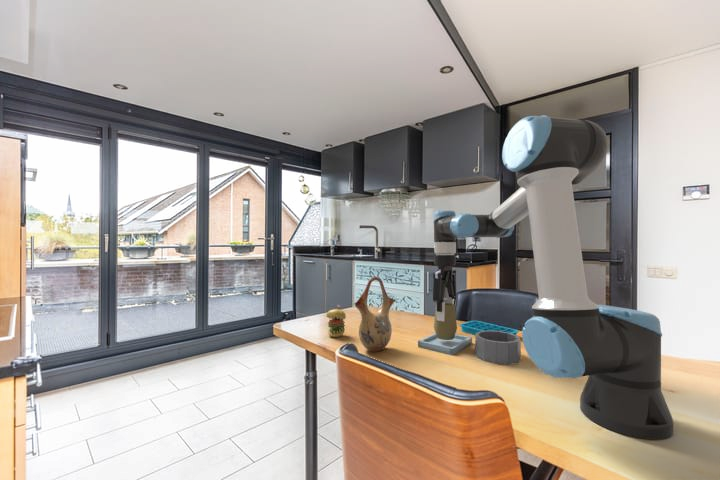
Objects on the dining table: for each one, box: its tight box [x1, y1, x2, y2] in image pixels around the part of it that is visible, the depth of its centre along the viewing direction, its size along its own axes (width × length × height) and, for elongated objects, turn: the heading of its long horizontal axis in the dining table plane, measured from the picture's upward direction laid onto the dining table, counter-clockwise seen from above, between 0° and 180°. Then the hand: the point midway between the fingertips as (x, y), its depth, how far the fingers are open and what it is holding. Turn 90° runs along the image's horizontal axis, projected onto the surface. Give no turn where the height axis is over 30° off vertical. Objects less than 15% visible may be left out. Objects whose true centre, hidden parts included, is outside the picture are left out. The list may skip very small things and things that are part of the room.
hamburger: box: [326, 304, 347, 338], centre depth 128 cm, size 8×7×12 cm
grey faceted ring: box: [474, 330, 522, 365], centre depth 104 cm, size 13×13×6 cm
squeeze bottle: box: [433, 288, 458, 340], centre depth 116 cm, size 8×8×18 cm
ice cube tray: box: [458, 320, 520, 336], centre depth 129 cm, size 12×20×3 cm, turn 36°
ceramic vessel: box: [353, 276, 396, 352], centre depth 111 cm, size 16×9×25 cm, turn 121°
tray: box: [417, 332, 473, 356], centre depth 116 cm, size 16×13×2 cm
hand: (445, 318), depth 116 cm, fingers closed on squeeze bottle, 6 cm apart
